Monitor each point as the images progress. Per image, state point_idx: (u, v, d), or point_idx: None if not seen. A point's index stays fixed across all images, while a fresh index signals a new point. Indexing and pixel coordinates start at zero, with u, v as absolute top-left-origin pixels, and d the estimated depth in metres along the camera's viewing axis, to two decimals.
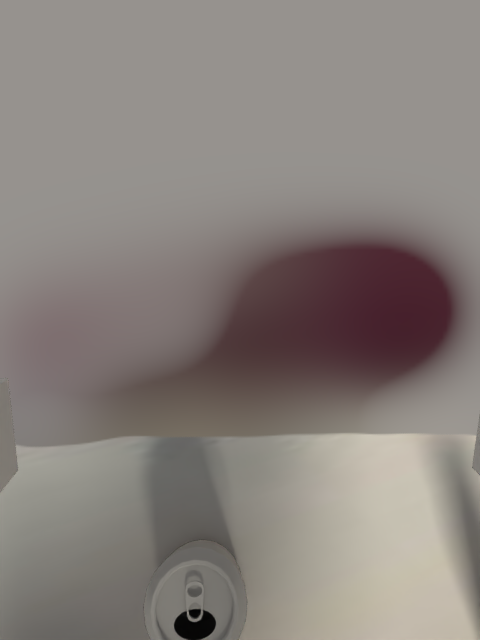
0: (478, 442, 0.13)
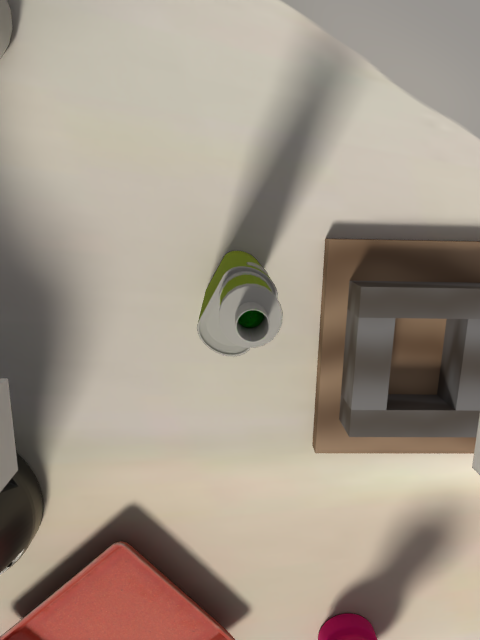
0: (478, 442, 0.13)
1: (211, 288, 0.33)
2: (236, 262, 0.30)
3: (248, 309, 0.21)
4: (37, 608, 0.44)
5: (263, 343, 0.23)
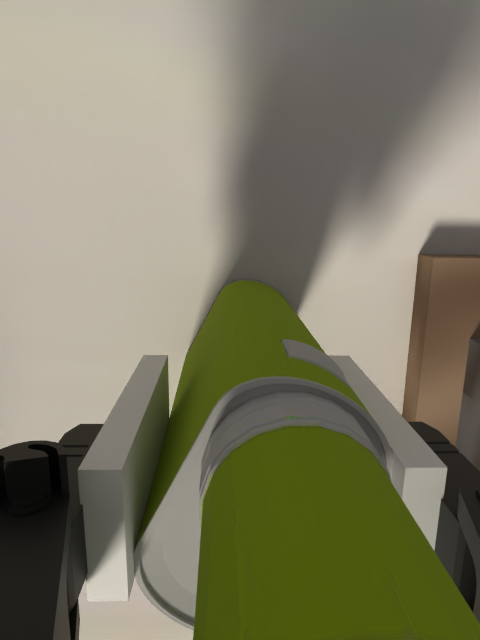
0: None
1: (189, 386, 0.14)
2: (253, 340, 0.11)
3: None
4: None
5: None
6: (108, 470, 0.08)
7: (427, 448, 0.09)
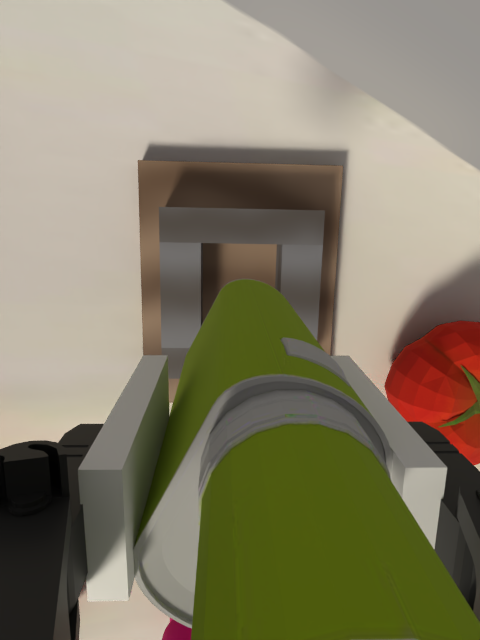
0: None
1: (188, 384, 0.14)
2: (252, 338, 0.11)
3: None
4: None
5: None
6: (108, 470, 0.08)
7: (427, 448, 0.09)
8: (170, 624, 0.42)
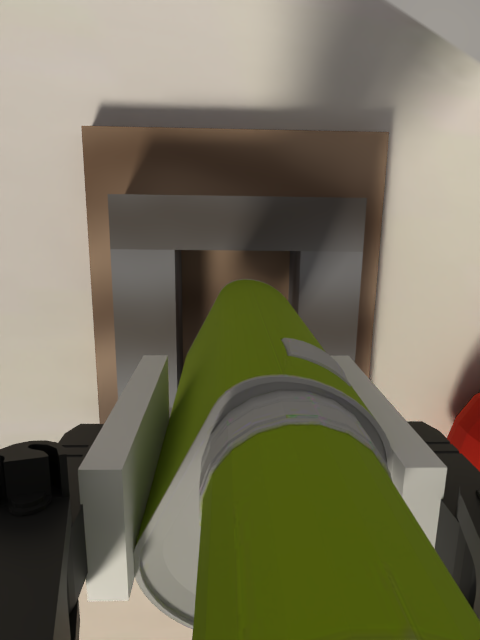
0: None
1: (189, 385, 0.14)
2: (253, 339, 0.11)
3: None
4: None
5: None
6: (108, 470, 0.08)
7: (427, 448, 0.09)
8: None
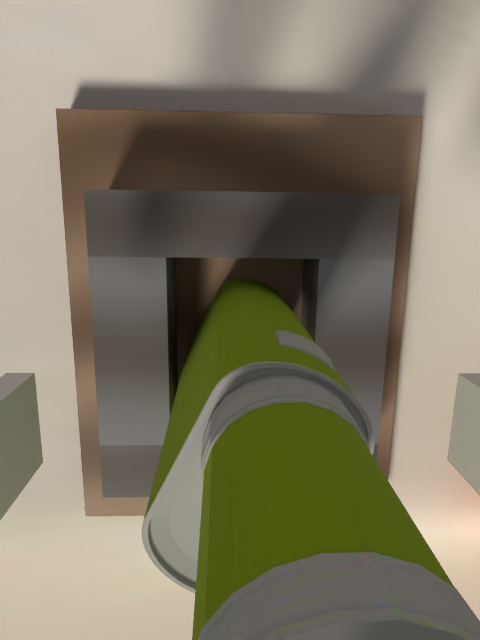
0: (452, 435, 0.13)
1: (190, 377, 0.15)
2: (248, 332, 0.12)
3: None
4: None
5: None
6: None
7: None
8: None
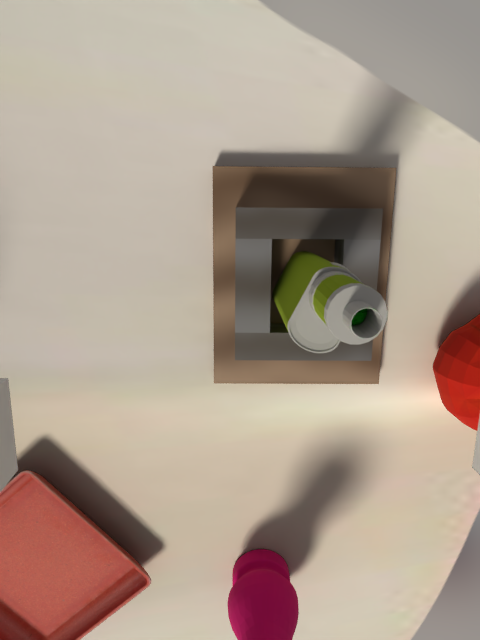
0: (478, 442, 0.13)
1: (289, 288, 0.34)
2: (319, 263, 0.31)
3: (362, 307, 0.22)
4: None
5: (368, 340, 0.24)
6: None
7: None
8: (236, 584, 0.46)
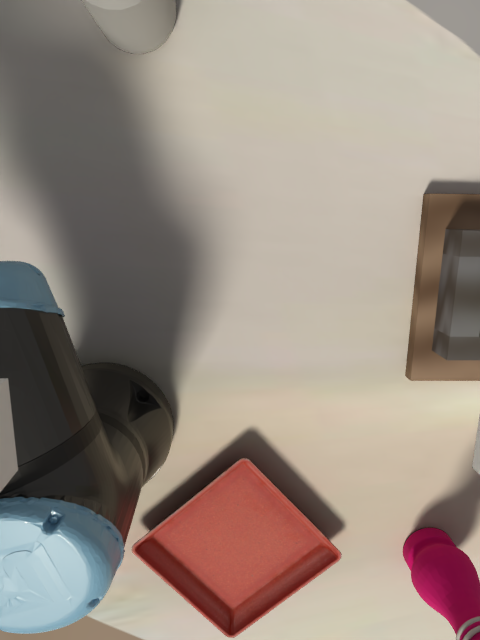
0: (478, 442, 0.13)
1: None
2: None
3: None
4: (170, 516, 0.52)
5: None
6: None
7: None
8: (421, 557, 0.52)
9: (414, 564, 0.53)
